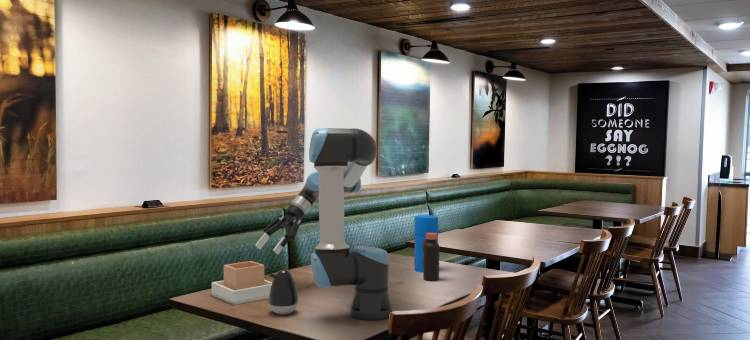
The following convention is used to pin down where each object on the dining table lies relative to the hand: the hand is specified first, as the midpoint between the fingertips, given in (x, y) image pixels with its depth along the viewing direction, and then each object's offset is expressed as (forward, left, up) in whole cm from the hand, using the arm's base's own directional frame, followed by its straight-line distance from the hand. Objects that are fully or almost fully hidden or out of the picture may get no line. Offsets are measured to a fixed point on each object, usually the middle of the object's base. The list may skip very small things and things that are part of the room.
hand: (266, 249), depth 236 cm
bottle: (+26, -66, -17) cm, 73 cm away
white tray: (-7, +7, -17) cm, 19 cm away
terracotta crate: (-7, +7, -16) cm, 19 cm away
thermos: (+44, -64, -17) cm, 79 cm away
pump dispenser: (-27, -13, -17) cm, 34 cm away
